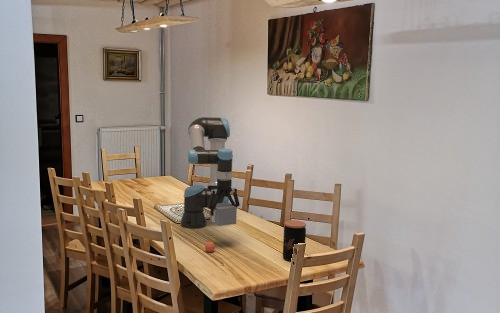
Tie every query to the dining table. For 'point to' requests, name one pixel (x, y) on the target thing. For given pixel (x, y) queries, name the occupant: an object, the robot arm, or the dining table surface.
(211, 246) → the ball
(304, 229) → the coffee jar
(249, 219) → the dining table surface
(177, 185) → the dining table surface
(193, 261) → the dining table surface
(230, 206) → the rounded grey cube
